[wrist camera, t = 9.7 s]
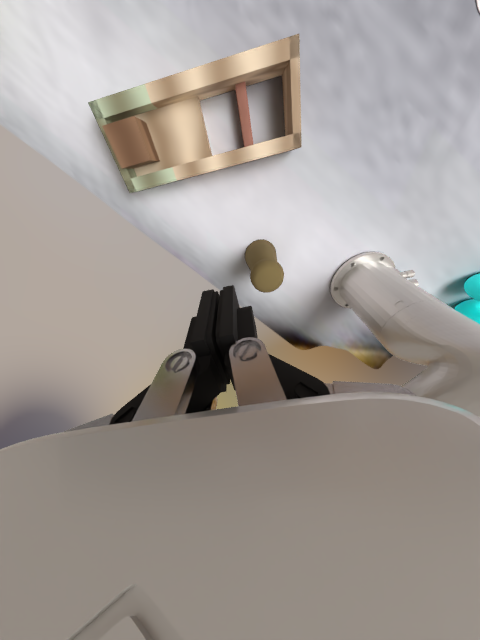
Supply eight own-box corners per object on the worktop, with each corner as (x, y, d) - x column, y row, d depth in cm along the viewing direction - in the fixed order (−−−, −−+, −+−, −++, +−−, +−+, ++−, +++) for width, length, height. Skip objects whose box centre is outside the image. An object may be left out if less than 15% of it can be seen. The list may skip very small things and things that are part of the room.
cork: (282, 255, 39) (296, 280, 30) (259, 276, 41) (266, 305, 33) (261, 232, 36) (270, 252, 27) (238, 256, 39) (239, 281, 30)
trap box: (289, 54, 24) (299, 33, 20) (292, 149, 29) (301, 147, 26) (107, 111, 27) (88, 102, 23) (141, 190, 32) (129, 193, 28)
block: (146, 122, 26) (134, 115, 23) (159, 161, 28) (150, 160, 25) (117, 131, 26) (101, 125, 23) (133, 168, 29) (121, 168, 25)
